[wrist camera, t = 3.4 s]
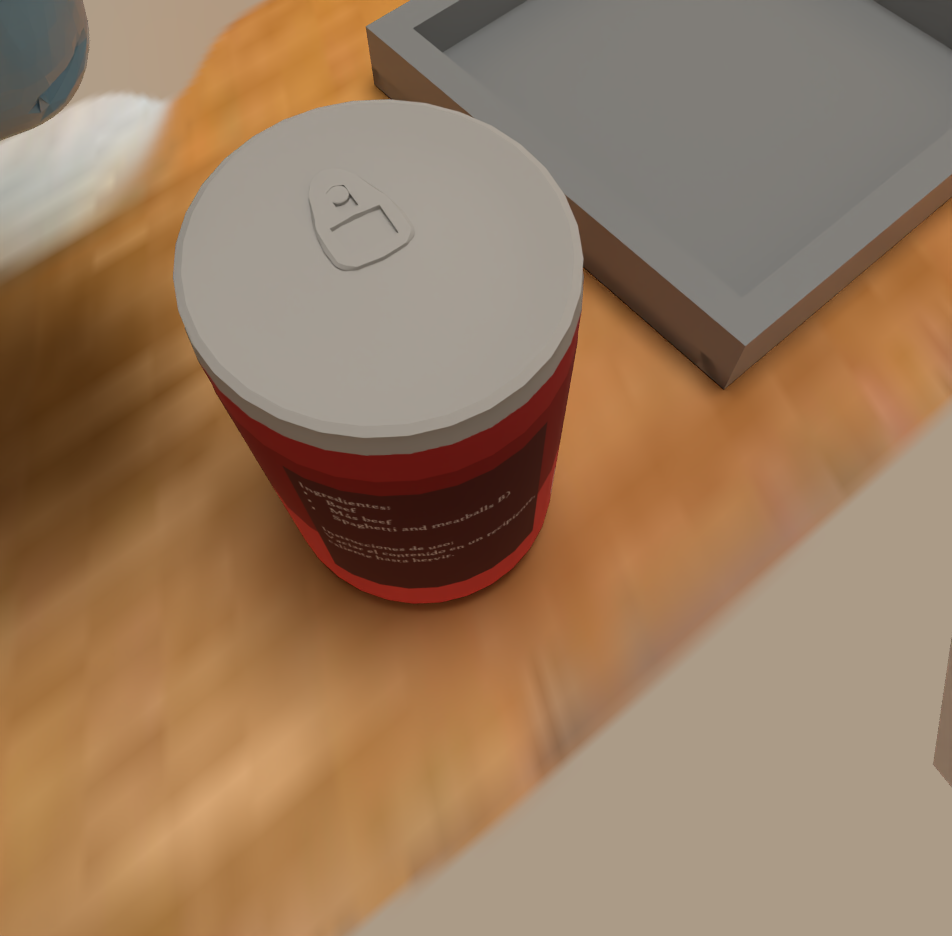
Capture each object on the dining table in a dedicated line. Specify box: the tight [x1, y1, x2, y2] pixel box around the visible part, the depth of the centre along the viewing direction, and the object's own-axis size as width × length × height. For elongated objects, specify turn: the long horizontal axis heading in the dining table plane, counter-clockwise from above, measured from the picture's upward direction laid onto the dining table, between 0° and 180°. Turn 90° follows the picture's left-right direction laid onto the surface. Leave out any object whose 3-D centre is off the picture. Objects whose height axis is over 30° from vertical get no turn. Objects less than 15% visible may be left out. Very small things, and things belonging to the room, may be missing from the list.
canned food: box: [173, 99, 584, 604], centre depth 21 cm, size 8×8×11 cm
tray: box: [366, 0, 952, 389], centre depth 31 cm, size 18×18×2 cm
